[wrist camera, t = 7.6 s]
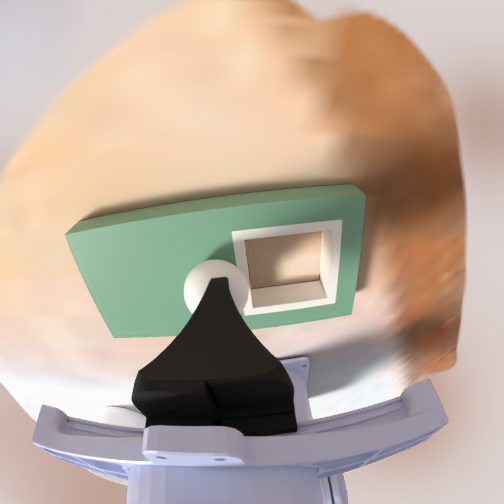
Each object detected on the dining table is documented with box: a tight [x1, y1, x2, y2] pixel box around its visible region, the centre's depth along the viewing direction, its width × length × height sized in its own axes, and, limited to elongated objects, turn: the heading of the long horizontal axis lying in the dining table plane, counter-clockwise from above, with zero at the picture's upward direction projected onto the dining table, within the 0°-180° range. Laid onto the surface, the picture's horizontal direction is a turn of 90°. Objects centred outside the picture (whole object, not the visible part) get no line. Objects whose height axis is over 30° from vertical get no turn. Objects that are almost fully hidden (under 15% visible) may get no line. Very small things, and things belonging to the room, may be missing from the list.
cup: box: [88, 406, 146, 485], centre depth 26 cm, size 8×12×10 cm
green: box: [65, 184, 366, 338], centre depth 17 cm, size 9×18×2 cm, turn 96°
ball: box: [184, 259, 249, 314], centre depth 15 cm, size 4×4×4 cm
